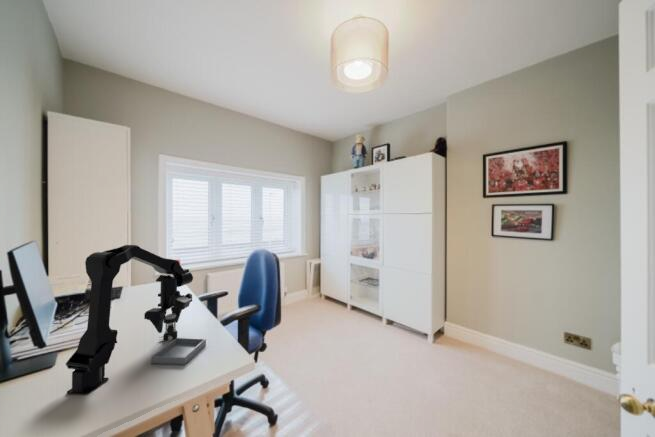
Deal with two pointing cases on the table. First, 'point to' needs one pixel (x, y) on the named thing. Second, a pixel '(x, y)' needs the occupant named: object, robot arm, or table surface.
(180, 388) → the table surface
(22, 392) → the table surface
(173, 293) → the robot arm
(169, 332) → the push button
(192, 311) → the table surface
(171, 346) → the tray
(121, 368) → the table surface
